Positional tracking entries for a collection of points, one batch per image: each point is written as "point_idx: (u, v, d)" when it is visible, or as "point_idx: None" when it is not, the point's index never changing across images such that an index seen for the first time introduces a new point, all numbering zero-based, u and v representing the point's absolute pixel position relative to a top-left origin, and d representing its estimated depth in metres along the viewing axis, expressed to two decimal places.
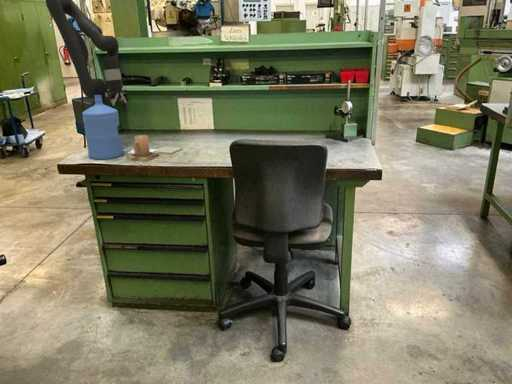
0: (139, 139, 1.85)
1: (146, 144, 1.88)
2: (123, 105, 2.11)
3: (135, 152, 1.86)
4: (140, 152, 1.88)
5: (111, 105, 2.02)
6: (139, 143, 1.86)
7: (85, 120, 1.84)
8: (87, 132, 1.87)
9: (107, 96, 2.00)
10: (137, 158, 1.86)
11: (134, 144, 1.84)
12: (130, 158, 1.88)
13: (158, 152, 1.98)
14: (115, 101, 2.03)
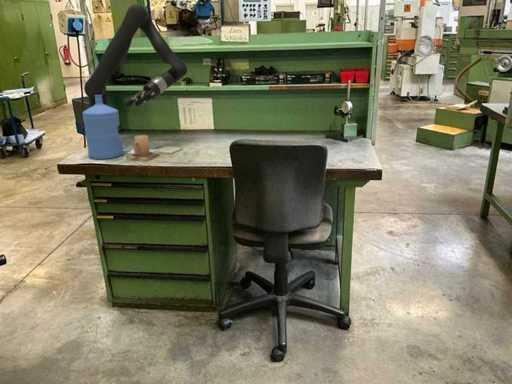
0: (139, 139, 1.86)
1: (146, 144, 1.88)
2: (130, 102, 1.96)
3: (135, 152, 1.86)
4: (140, 152, 1.88)
5: (144, 101, 1.90)
6: (139, 143, 1.86)
7: (85, 120, 1.85)
8: (87, 132, 1.87)
9: (152, 95, 1.92)
10: (137, 158, 1.86)
11: (134, 144, 1.84)
12: (130, 158, 1.88)
13: (158, 152, 1.98)
14: None
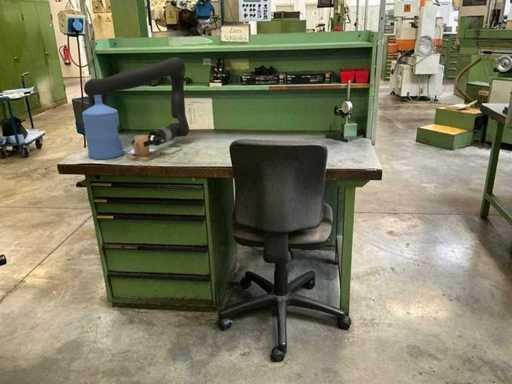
0: (139, 139, 1.85)
1: None
2: None
3: (135, 152, 1.86)
4: (140, 152, 1.88)
5: (152, 144, 1.89)
6: (139, 143, 1.86)
7: (85, 120, 1.85)
8: (87, 132, 1.87)
9: (161, 141, 1.92)
10: (137, 158, 1.86)
11: (134, 144, 1.84)
12: (130, 158, 1.88)
13: (158, 152, 1.98)
14: None
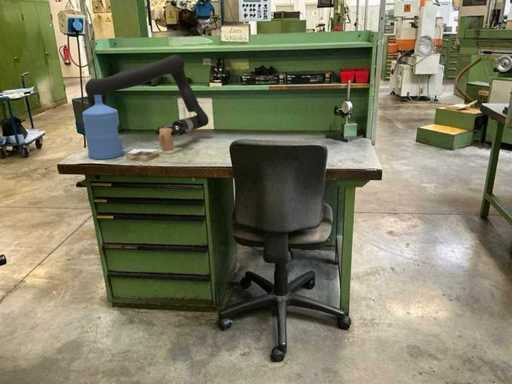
0: (164, 131, 1.96)
1: (170, 136, 1.98)
2: None
3: (160, 144, 1.96)
4: (165, 144, 1.98)
5: (178, 133, 1.99)
6: (164, 135, 1.97)
7: (85, 120, 1.85)
8: (87, 132, 1.87)
9: (186, 131, 2.02)
10: (137, 158, 1.86)
11: (159, 136, 1.95)
12: (130, 158, 1.88)
13: (158, 152, 1.98)
14: None
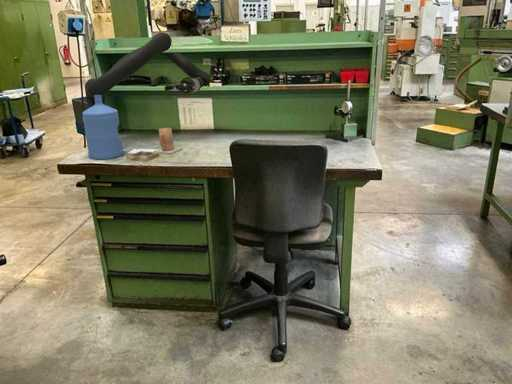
0: (164, 131, 1.96)
1: (170, 136, 1.98)
2: (169, 87, 2.10)
3: (161, 144, 1.96)
4: (165, 144, 1.98)
5: (186, 89, 2.08)
6: (164, 135, 1.97)
7: (85, 120, 1.85)
8: (87, 132, 1.87)
9: (193, 88, 2.11)
10: (137, 158, 1.86)
11: (160, 136, 1.95)
12: (130, 158, 1.88)
13: (158, 152, 1.98)
14: None
